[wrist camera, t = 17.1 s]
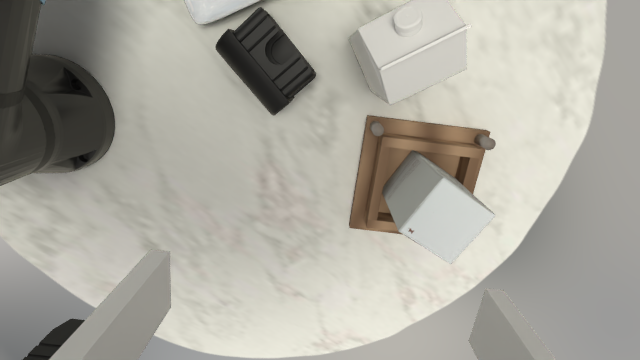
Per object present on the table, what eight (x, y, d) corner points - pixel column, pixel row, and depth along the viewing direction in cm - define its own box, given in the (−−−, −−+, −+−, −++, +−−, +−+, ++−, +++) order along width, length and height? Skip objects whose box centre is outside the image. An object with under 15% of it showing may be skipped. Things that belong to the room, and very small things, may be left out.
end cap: (224, 49, 45) (207, 48, 38) (266, 10, 43) (255, 1, 37) (277, 111, 47) (269, 119, 41) (318, 76, 45) (317, 78, 39)
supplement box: (420, 217, 50) (450, 267, 38) (379, 189, 49) (395, 231, 37) (456, 177, 48) (498, 216, 36) (413, 146, 47) (443, 176, 35)
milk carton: (422, 66, 45) (486, 70, 27) (370, 91, 46) (398, 112, 28) (401, 10, 43) (455, -26, 25) (347, 38, 44) (361, 23, 26)
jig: (349, 224, 52) (351, 237, 48) (367, 115, 47) (370, 120, 43) (456, 237, 52) (467, 251, 48) (486, 130, 47) (501, 136, 43)
